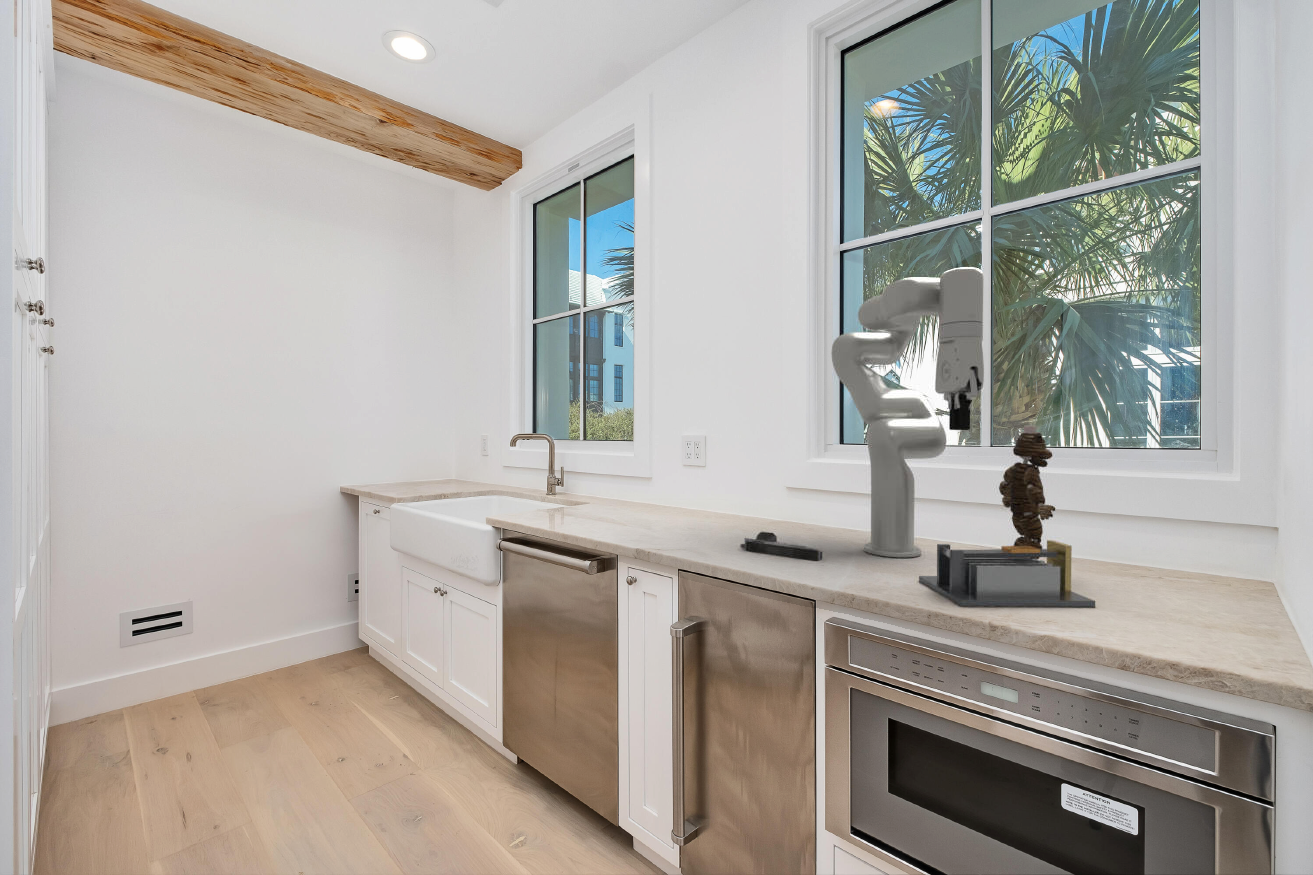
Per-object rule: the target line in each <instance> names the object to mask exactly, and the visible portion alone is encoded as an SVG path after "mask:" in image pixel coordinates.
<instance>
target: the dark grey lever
mask: <svg viewBox="0 0 1313 875" xmlns="http://www.w3.org/2000/svg"><path fill="white" fill-rule="evenodd" d="M950 550H951V548H950V549H947V548H943V549H942V551H941V553H942V555H944V556H946V557H948V558H950ZM963 550H964V558H1009V557H1040V558H1047V557H1057V552H1054V551H1051V550H1048V549H1047V548H1042V549H1038V548H1035V547H1031V546H1014V545H1001V549H998V548H997V549H963Z"/></svg>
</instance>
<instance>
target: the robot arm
mask: <svg viewBox="0 0 1313 875" xmlns="http://www.w3.org/2000/svg"><path fill="white" fill-rule="evenodd" d="M922 316H928V317H929V316H932V317H938V344H939V345H938V351H937V356H936V365H935V366H936V367H935V382H934V388H935V389H934V390H935V392H936V393H937V395H938V394H939V395H943V400H944V401H946V402H947V406H948V410H949V416H948V417H949V421H948V426H949V427H948V428H949V430H950V431H969V430H970V429H971V409H972V407H973V400H975V399H977V398H978V396H979V391H981V390H982V389H983V387H984V382H985V381H984V380H985V378H984V377H985V375H984V374H985V372H984V370H985V368H984V352H983V351H984V350H983V341H984V338H983V337H984V324H983V323H984V274H983V271H982V270H981V269H979V268H977V267H971V266H969V267H968V266H966V267H965V266H964V267H956V268H952V269H949V270H946V271H944V272H943V273H942V274H941V275H940V277H905V278H902V279H898V280H895V281H893V282H890V283H889V284H887V285H886V286H885V287H884V290H883V291H882V294H879V295H877V296H873V297H871V298H869V299H867V300H865V301H864V302H863V303H862V304H861V305H860V307H859V309H858V312H857V319H858V322H859V323H860V326H862V327H863V328H864V329H866V330H868V331H854V332H847V333H844V334H843V333H842V334H841V335H839V336H838V337H836V338H835V340H834V341H833V343H832V346H831V361H832V366H833V369H834V371H835V374H836V376H837V377H838V379H839V380H840V382H841V383H842V384H843V386H844V387H845V388H846V389H847V391H848V393H849V394H850V396H851V398H852V401H853V402H854V405H855V406H856V409H857V411H858V413H859V415H860V417H861V419H862V420H863V421H864V423H866V424H867V425H868V426H869V427H868V429H867V433H866V442H867V448H868V455H869V461H870V542H869V543H865V544H863V551H864V552H866V553H868V554H871V555H875V556H879V557H880V556H881V557H889V558H915V557H919V556H921V555H922V549H921V547H918V546H915V477H914V474H913V472H912V471H913V470H911V468H910V466H909V465H908V464H907V461H906V460H911V459H913V460H914V459H915V460H916V459H917V460H918V459H920V460H921V459H933V458H936V457H939V456H940V455H942V454H943V452H944V451H945V449H946V447H947V433H946V431H945V428H944V425H943V424H942V422H941V421H940V419H939V417H938V415H937V414H936V411H935V410H934V409H933V407H932V406H931V405H930V402H929V401H928V399H927V398H926V397H925V396H924V394H922V393H921V392H920V391H918V390H916V389H912V388H893V387H888V386H887V385H886V384H885V382H884V381H883V379H882V376H880V374H878V373H877V372H876V371H875V370H874V369H872V368H870V367H869V366H870V365H871V366H873V365H874V366H878V365H879V366H889V365H890V366H891V365H893V364H895V363H897V362H898V361H899V360H900V359H901V358H902V356H903V354H904V352H905V351H906V349H907V347H908V345H909V343H910V342H911V340H912V339H913V337H914V335H915V333H916V331H917V329H918V327H919V324H920V322H921V320H922V319H921V318H922ZM869 331H870V332H869ZM868 365H869V366H868Z"/></svg>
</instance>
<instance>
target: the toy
mask: <svg viewBox="0 0 1313 875" xmlns="http://www.w3.org/2000/svg"><path fill="white" fill-rule="evenodd" d="M1023 426H1024V427H1023V429H1024V431H1022V432H1021V433H1020V435H1019V436H1018V438H1017V439H1016V440H1015V441H1016V442H1015V445H1014V447H1013V450H1012V452H1013V455H1014V456H1016V457H1019V458H1020V459H1022V462H1015V463H1013V465H1011V466H1009V467H1008V468H1007V469H1006V470H1005V472H1004V474H1003V480H1002V481H1001V482H1000V483H999V487H998V490H999V492H1000V495H1002V498H1001V502H1002V504H1003V506H1004V507H1005V508H1010V512H1011V513H1012V515H1011V521H1012V526H1013V527H1014V529H1015V531H1016V532H1017V533H1018V534H1019V535H1020V537H1017V538H1016V539H1015V540H1014V543H1013V546H1031V547H1035V548H1038V549H1043V545H1042V544H1041V543H1042V535H1043V533H1044V532H1043V531H1044V530H1043V523H1042V521H1045V520H1049V519H1050V518H1053V517H1054V515H1053V512H1055V511H1056V507H1055V506H1053V505H1049V504H1046V498H1045V495H1044V486H1043V482H1042V479H1041V476H1040V474H1041V471H1040V468H1046V467H1047V466H1048V463H1049V462H1048V461H1047V460H1049V459H1051V458H1052V457H1053V453H1052V451H1051V450H1049V449H1048V448H1047V445H1046V441H1045V439H1044V438H1043V436H1042V433H1041V432H1038V431H1037V426H1038V425H1023ZM1028 462H1029V463H1028ZM1031 558H1037V559H1038V560H1039V559H1040V558H1041V557H1031Z"/></svg>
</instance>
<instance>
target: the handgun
mask: <svg viewBox="0 0 1313 875" xmlns="http://www.w3.org/2000/svg"><path fill="white" fill-rule="evenodd" d="M777 538H778V537H777V535H776V534H775V533H774V532H768V531H760V532H759V533H758V534H757V535H756V537H755V538H748V537H744V543H742V544H741V543H740V548H741V549H744V550H745V552H752V553H759V554H765V555H772V556H773V555H774V556H778V557H779V556H780V557H786V558H793V559H799V560H806V561H811V562H813V561H814V562H819V561H821V559H823V551H822V550H821V549H818V548H811V547H808V546H806V545H805V546H804V545H799V544H790V543H786V542H778V541H777V540H778V539H777Z"/></svg>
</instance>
